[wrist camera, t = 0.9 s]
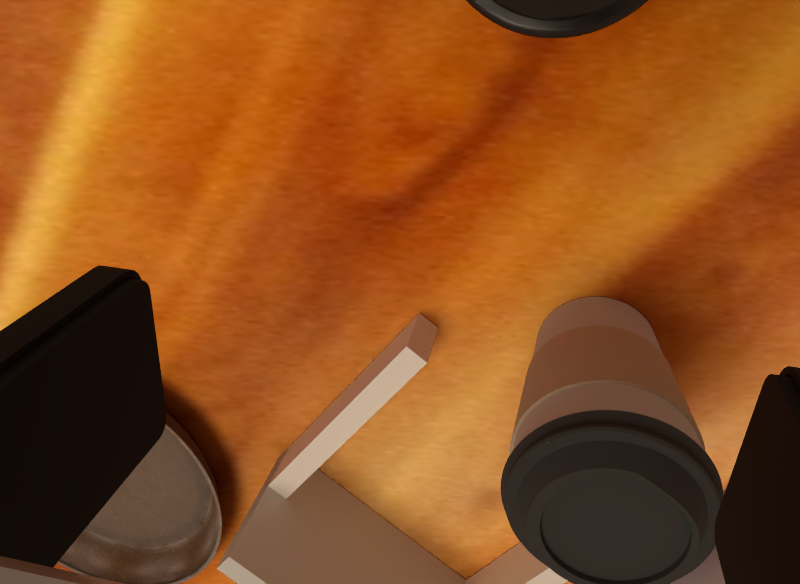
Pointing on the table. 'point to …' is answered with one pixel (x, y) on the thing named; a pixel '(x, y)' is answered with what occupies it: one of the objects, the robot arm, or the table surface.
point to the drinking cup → (555, 15)
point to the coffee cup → (608, 454)
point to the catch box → (350, 503)
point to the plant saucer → (155, 519)
